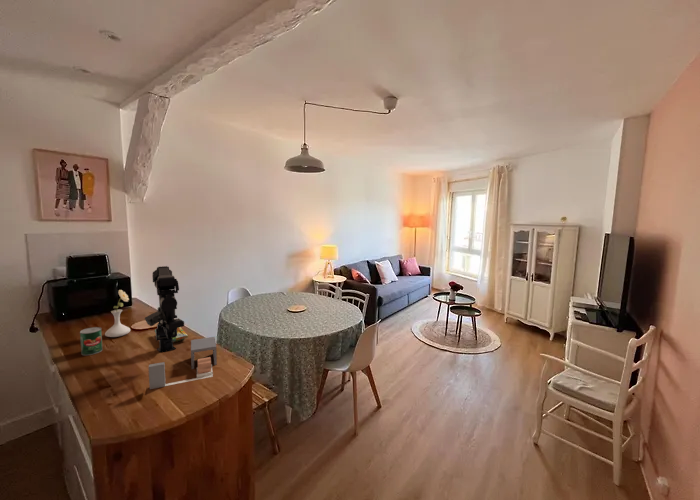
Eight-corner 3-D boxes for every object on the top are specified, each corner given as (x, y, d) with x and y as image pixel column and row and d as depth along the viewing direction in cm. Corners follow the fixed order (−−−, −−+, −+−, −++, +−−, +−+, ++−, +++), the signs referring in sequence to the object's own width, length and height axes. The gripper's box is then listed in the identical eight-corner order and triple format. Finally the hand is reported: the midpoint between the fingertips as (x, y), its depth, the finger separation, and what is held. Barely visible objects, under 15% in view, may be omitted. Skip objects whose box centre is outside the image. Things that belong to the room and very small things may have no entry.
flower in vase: (120, 339, 161) (117, 294, 158) (99, 338, 161) (96, 293, 158) (137, 330, 174) (135, 288, 171) (118, 329, 174) (115, 287, 171)
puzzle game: (178, 323, 174) (188, 333, 160) (178, 331, 175) (188, 342, 160) (154, 328, 166) (162, 339, 152) (154, 336, 167) (163, 348, 152)
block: (198, 370, 129) (197, 359, 128) (210, 367, 131) (210, 357, 130) (198, 375, 124) (197, 364, 124) (211, 373, 127) (211, 362, 126)
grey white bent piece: (152, 380, 122) (151, 356, 121) (212, 368, 132) (211, 347, 131) (149, 391, 114) (148, 366, 113) (213, 379, 124) (212, 355, 123)
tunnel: (191, 359, 140) (191, 340, 139) (215, 355, 145) (214, 336, 144) (191, 371, 130) (190, 350, 129) (216, 367, 134) (216, 346, 133)
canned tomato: (90, 356, 141) (88, 333, 140) (76, 354, 143) (75, 332, 142) (106, 349, 149) (105, 327, 148) (94, 347, 151) (92, 326, 150)
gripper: (138, 304, 132) (140, 338, 134) (155, 313, 121) (157, 350, 123) (166, 299, 141) (167, 331, 143) (184, 307, 130) (185, 342, 131)
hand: (168, 338), depth 135 cm, fingers closed
